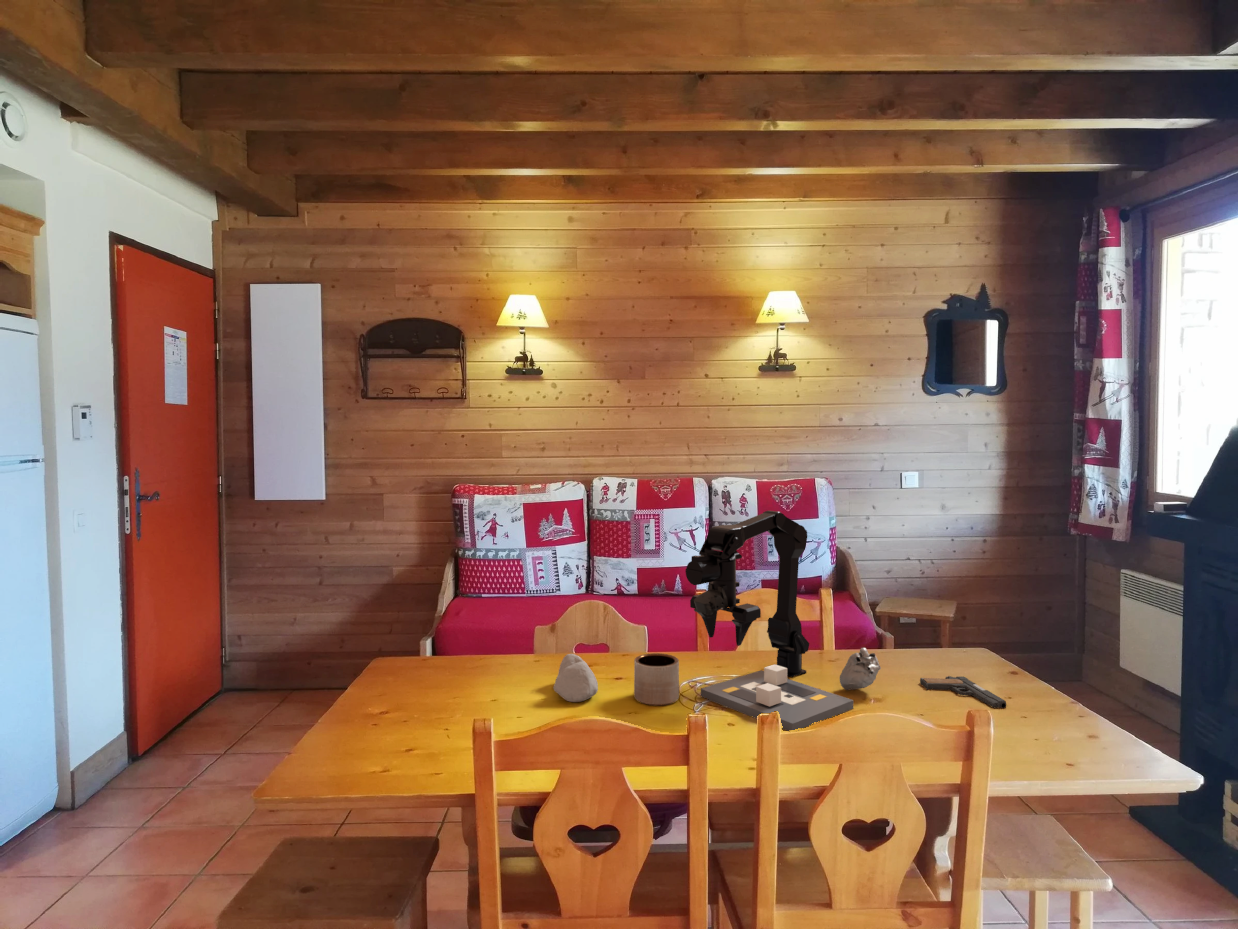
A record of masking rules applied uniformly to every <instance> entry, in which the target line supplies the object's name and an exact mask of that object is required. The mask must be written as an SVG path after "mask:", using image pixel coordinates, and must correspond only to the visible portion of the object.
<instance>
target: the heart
mask: <svg viewBox="0 0 1238 929" xmlns="http://www.w3.org/2000/svg"><path fill="white" fill-rule="evenodd" d="M881 669H882V667H881V665H880V663H879V660H878V657H877V655H876V653H875V652H872V653H869V651H868V649H867V648H866V647H861V648H860V649H859V652H855V653H852V654H851V655H850V656H849V657H848V659H847V662H846V663H845V666H844V667H843V669H842V671H841V673H840V675H839V683H840V686H841V687H842V688H843V689H844V690H846V691H851V690H861V689H865V688H867V687H869V686H871V685H873V684H874V681H875V680H876V678H877V675H878V673H879V672H880V670H881Z"/></svg>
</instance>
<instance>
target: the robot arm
mask: <svg viewBox="0 0 1238 929" xmlns="http://www.w3.org/2000/svg"><path fill="white" fill-rule="evenodd" d="M766 532H767V533H769V534H770V535H771V536H772V537H773V546H774V549H775V550H776V552H777V555H778V557H779V560H778V562H779V563H778V576H777V577H778V579H777V581H778V582H777V597H776V598H777V599H776V611H775V612H774V614H773V616H772V617H768V618H767V630H766V633H767V634H768V635H767V636H768V639H769V641H770V644H771V645H770V646H771V648H773V649H777V656H776V665H779V666H782V667H785V668H787V677H789V678H794V677H796V676H801V675H803V674H806V673H807V670H806V669H803V667H802V666H803V665H802V664H803V663H802V661H803V655H805V654H806V653H807V652H809V647H810V643H809V641H808V640H807V638H806V637H805V636H804V635H803V632H802V623H801V620H800V618H799V616H798V614H797V601H798V600H797V596H798V581H799V564H800V563H799V561H800V557H801V556H802V554H803V553H804V551H806V547H807V540H808V530H807V529H806V528H805V527H804V526H803V525H801V524H799V523H798V522H796V521H794V520H792V519H790V518H789V517H787V516H786V515H785V514H783V513H782V512H781V511H776V510H775V511H774V510H766V511H763V513H759V514H758V515H755V516H753V517H750V518H747V519H746V520H745V519H744V520H743V521H740V522H738V523H735V524H721V525H715V526H712V527H711V528H710V529H709V532H708V534H707V536H706V538H705V540H704V541H703V544H702V546H701V548H700V549H699V550H700V551H698V552H699V553H698V555H692V556H691V560H690V561H689V562H688V563H687V565H686V568H685V570H684V571H685V572H684V573H685V577H686V579H687V581H688V583H690V585H693V586H699V585H702V584H703V585H704V584H707V583H708V585H707V590H706V591H704V592H702V593H701V594H695V595H692V597H691V598H690V600H689V601H690V603H689V604H690V608H691V609H693V611H694V612H696V613H697V614H698V615H699V616H701V619H702V620H703V621H702V622H703V623H704V627H705V629H706V632H707V634H708V637H709V638H714V636H715V632H716V625H717V616H718V611H719V610H720V611H724V612H728V613H731V615H732V619H731V622H732V623H733V624H734V625H735V641H736V642H735V643H736V646H737V647H740V646H742V644H743V641H744V639H745V637H746V636H747V633H748V631H749V628H750V627H751V625H752V623H753V622H754V621H757V619H760V618H762V615H761V608H760V607H759V606H758V605H756V604H755V605H754V604H751V603H743V604H740V603H741V602H740V601H741V600H740V598H738V597H737V588H738V587H740V581H739V582H738V581H737V574H736V573H737V572H736V571H737V570H736V569H737V567H736V566H737V564H736V563H737V561H736V560H739V559H742V557H743V556H742V554H740V553H739V552H738V551H737V550H740V549H741V548H742V547H743V546H744V544H745V542H747V540H750V539H753V538H755V537H756V536H759V535H761V534H764V533H766ZM737 604H740V605H737Z"/></svg>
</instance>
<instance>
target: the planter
mask: <svg viewBox="0 0 1238 929" xmlns="http://www.w3.org/2000/svg"><path fill="white" fill-rule="evenodd" d="M633 662H634V664H633V665H634V672H633V674H634V675H633V678H634V680H633V682H634V683H633V685H634V686H633V696H634V699H635V700H636V701H637V702H639V703H641V704H643V705H647V706H651V707H652V706H653V707H654V706H655V707H657V706H658V707H661V706H662V707H663V706H668V705H671V704H673V703H674V704H675V702H676V701H677V702H678V700H679V698H680V659H679V658H678V657H676V656H675V655H672V654H667V653H661V652H660V653H658V652H656V653H655V652H653V653H645V654H641V655H638V656H636V657H635V658H634V661H633Z"/></svg>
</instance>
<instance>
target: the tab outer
mask: <svg viewBox="0 0 1238 929" xmlns="http://www.w3.org/2000/svg"><path fill="white" fill-rule="evenodd" d="M756 702H758V703H761V704H764V705H767V706H769V707H770V706H773V705H775V704H778V703H781V687H778V686H775V685H772V684H769V683H766V684H763V685H760V686H757V687H756Z"/></svg>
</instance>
